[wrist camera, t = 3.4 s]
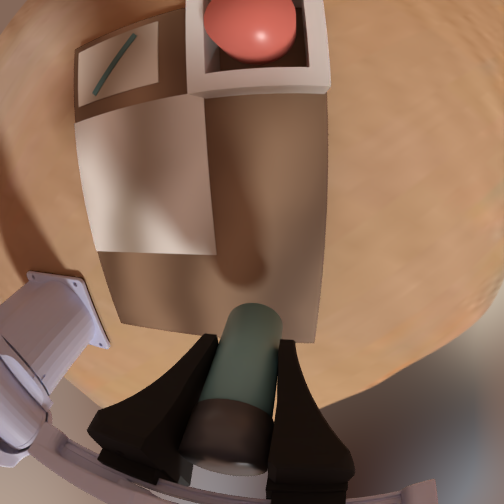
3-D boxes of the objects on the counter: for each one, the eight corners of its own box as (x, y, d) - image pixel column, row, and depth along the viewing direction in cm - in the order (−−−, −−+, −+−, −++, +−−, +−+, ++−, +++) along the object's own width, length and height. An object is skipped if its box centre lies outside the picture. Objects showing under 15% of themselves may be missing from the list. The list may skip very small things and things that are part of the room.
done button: (220, 68, 10) (204, 57, 8) (218, 8, 8) (203, -11, 6) (298, 63, 9) (299, 50, 7) (293, 1, 8) (292, -20, 6)
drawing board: (126, 315, 21) (120, 324, 20) (84, 51, 12) (73, 49, 11) (314, 333, 18) (314, 344, 17) (316, 2, 9) (317, -6, 8)
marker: (228, 343, 15) (189, 466, 8) (223, 299, 14) (167, 436, 7) (283, 347, 15) (267, 479, 8) (285, 302, 14) (267, 454, 6)
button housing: (206, 98, 12) (187, 93, 10) (203, 5, 9) (186, -13, 7) (324, 94, 11) (331, 86, 9) (316, -4, 9) (318, -26, 6)
